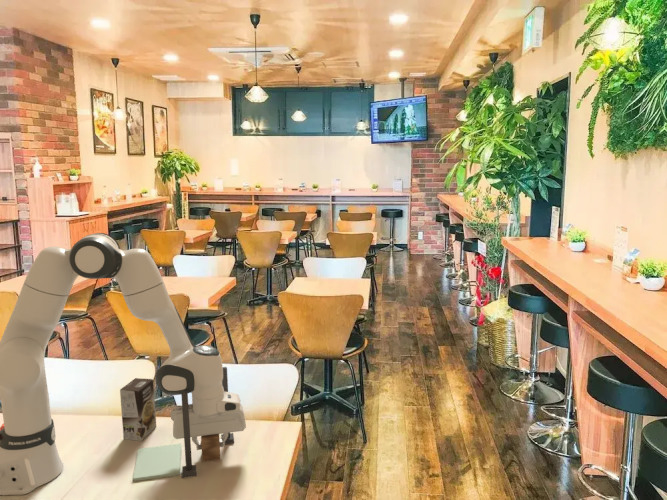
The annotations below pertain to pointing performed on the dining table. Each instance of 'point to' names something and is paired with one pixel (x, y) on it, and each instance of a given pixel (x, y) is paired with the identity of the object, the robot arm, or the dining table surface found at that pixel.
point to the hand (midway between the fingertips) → (210, 447)
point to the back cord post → (225, 385)
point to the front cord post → (187, 440)
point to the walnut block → (210, 447)
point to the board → (157, 462)
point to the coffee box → (138, 409)
